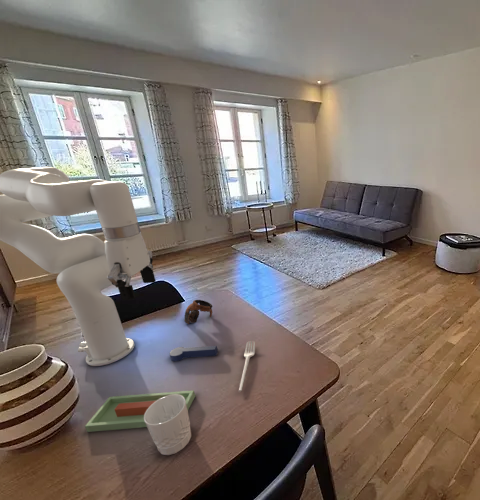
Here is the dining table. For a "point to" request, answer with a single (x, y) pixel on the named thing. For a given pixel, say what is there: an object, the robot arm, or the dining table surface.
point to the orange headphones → (196, 310)
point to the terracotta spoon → (132, 408)
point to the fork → (247, 362)
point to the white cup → (169, 423)
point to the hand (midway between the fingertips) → (140, 290)
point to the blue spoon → (192, 352)
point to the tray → (110, 421)
